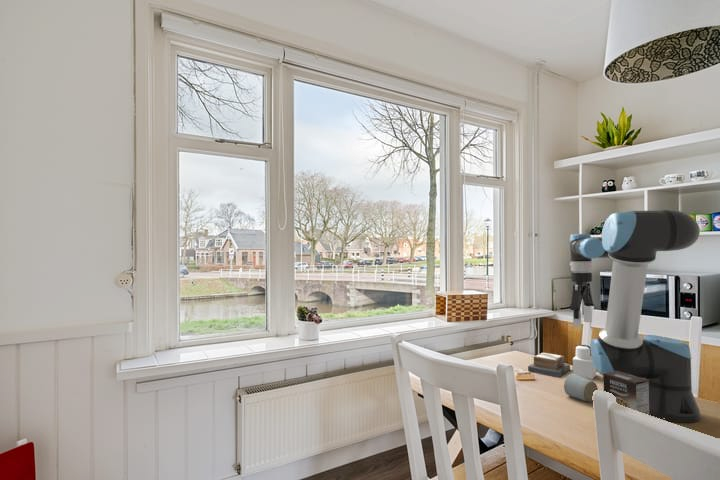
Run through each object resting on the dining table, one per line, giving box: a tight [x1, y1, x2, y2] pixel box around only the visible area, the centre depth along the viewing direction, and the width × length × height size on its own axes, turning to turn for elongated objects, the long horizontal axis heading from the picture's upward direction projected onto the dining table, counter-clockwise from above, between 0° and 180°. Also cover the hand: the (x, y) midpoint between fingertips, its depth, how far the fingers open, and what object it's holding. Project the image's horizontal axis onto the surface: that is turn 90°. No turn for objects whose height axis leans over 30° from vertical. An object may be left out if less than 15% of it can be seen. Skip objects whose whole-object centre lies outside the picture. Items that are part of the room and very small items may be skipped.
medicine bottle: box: [571, 344, 597, 380], centre depth 162 cm, size 7×7×12 cm
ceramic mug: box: [563, 373, 599, 403], centre depth 139 cm, size 11×8×8 cm
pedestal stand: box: [527, 352, 571, 378], centre depth 170 cm, size 14×12×6 cm
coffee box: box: [602, 371, 650, 416], centre depth 112 cm, size 9×6×16 cm
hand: (582, 324), depth 162 cm, fingers open, 13 cm apart
